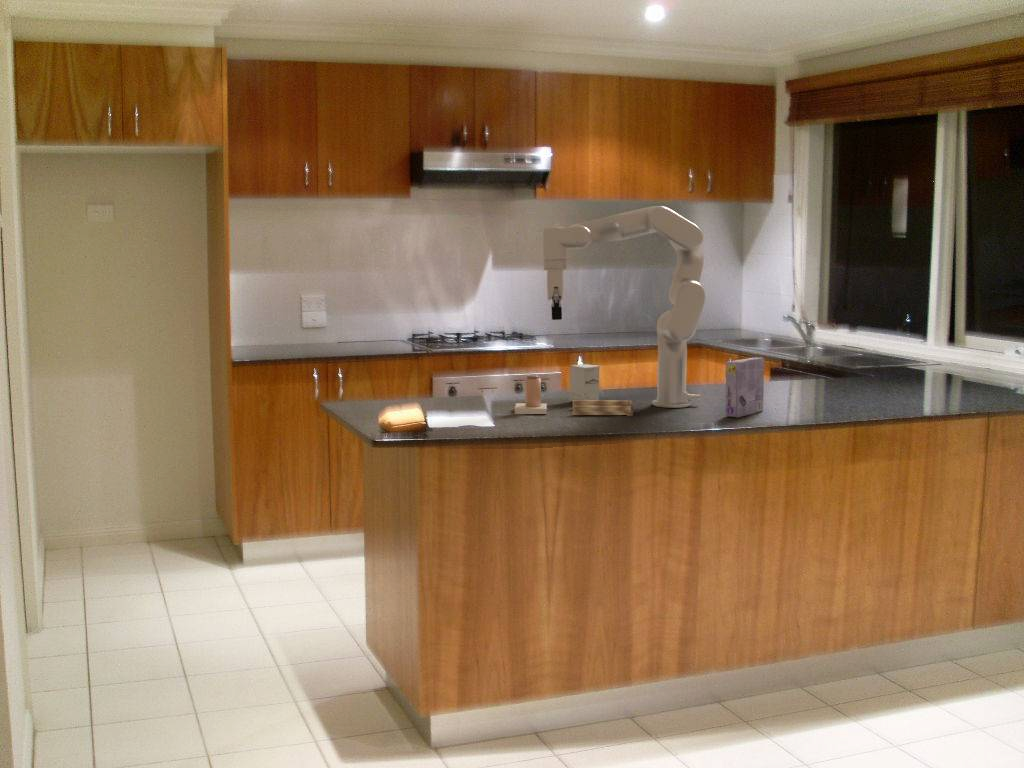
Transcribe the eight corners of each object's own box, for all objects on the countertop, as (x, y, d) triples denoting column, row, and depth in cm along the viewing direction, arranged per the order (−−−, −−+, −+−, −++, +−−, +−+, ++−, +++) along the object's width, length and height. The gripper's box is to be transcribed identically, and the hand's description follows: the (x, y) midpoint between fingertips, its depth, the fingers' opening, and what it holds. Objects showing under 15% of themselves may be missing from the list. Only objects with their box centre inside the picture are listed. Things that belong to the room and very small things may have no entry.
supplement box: (583, 404, 368) (584, 367, 366) (568, 402, 373) (569, 365, 371) (599, 402, 372) (600, 365, 370) (584, 399, 378) (585, 363, 376)
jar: (540, 404, 356) (540, 374, 355) (541, 407, 351) (541, 376, 350) (524, 404, 356) (524, 374, 354) (526, 407, 351) (526, 377, 349)
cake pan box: (751, 408, 359) (753, 355, 357) (765, 410, 356) (767, 356, 354) (723, 417, 345) (724, 361, 342) (737, 419, 342) (739, 362, 339)
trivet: (546, 409, 358) (546, 403, 358) (546, 414, 349) (546, 408, 348) (516, 409, 359) (516, 403, 359) (514, 414, 349) (514, 408, 349)
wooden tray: (630, 409, 358) (631, 400, 357) (633, 416, 346) (633, 406, 346) (572, 409, 359) (572, 400, 358) (572, 415, 347) (573, 406, 347)
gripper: (543, 264, 362) (545, 316, 364) (543, 267, 345) (545, 321, 347) (566, 263, 361) (567, 315, 364) (567, 266, 344) (568, 320, 347)
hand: (556, 318), depth 356 cm, fingers open, 9 cm apart
